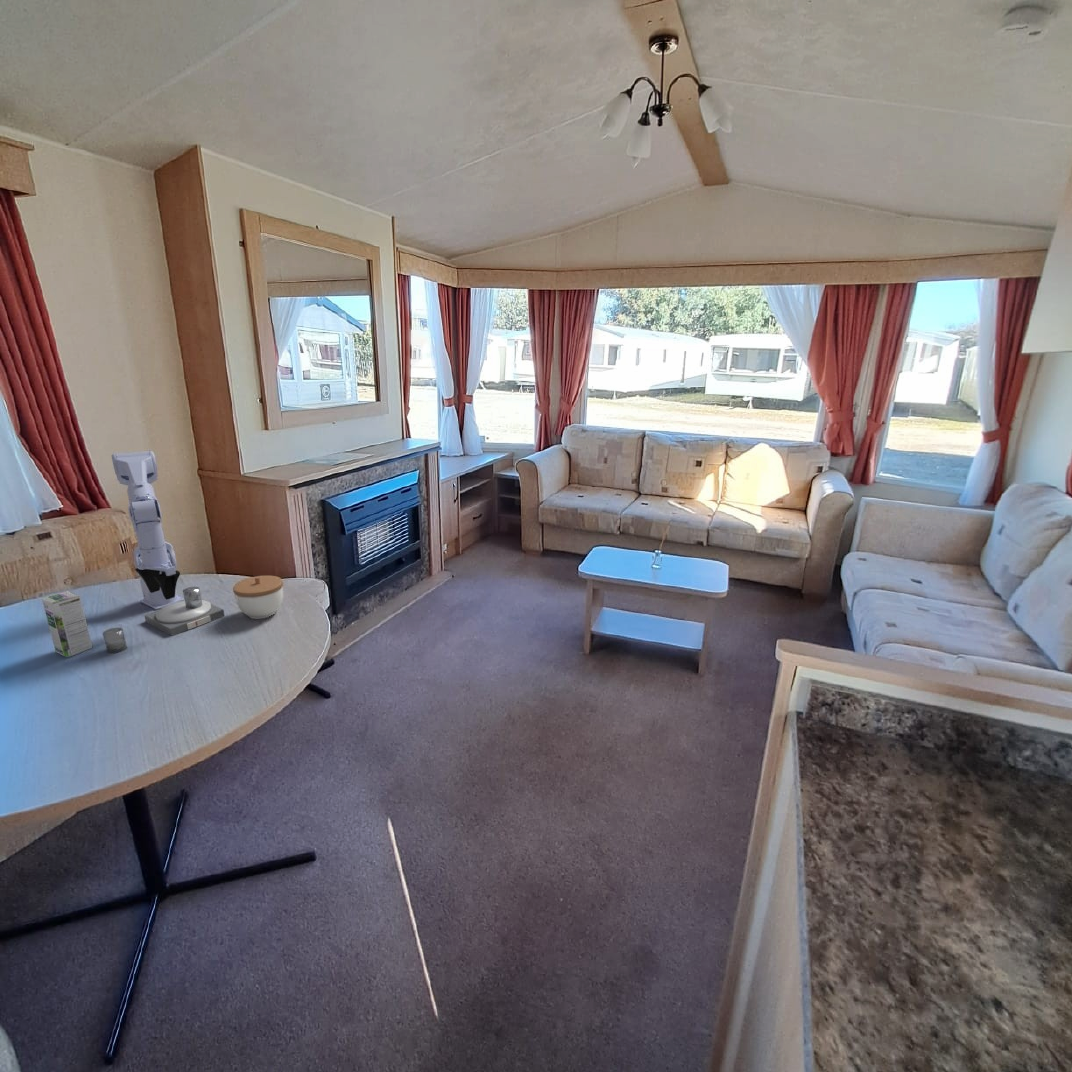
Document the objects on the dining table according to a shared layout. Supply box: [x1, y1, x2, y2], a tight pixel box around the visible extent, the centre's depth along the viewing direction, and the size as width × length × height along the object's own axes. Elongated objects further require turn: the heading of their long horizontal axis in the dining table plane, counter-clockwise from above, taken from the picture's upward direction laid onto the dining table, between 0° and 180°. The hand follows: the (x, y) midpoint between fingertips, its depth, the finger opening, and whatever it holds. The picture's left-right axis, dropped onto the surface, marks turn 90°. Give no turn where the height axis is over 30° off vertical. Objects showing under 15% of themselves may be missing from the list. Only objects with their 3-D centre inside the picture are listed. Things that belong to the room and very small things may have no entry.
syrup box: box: [41, 590, 93, 658], centre depth 138 cm, size 6×6×14 cm
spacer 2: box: [182, 586, 203, 609], centre depth 157 cm, size 4×4×5 cm
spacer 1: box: [102, 627, 128, 654], centre depth 140 cm, size 4×4×5 cm
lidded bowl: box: [232, 575, 284, 620], centre depth 159 cm, size 13×13×11 cm
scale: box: [143, 599, 225, 637], centre depth 156 cm, size 15×14×3 cm
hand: (162, 594), depth 149 cm, fingers open, 7 cm apart
